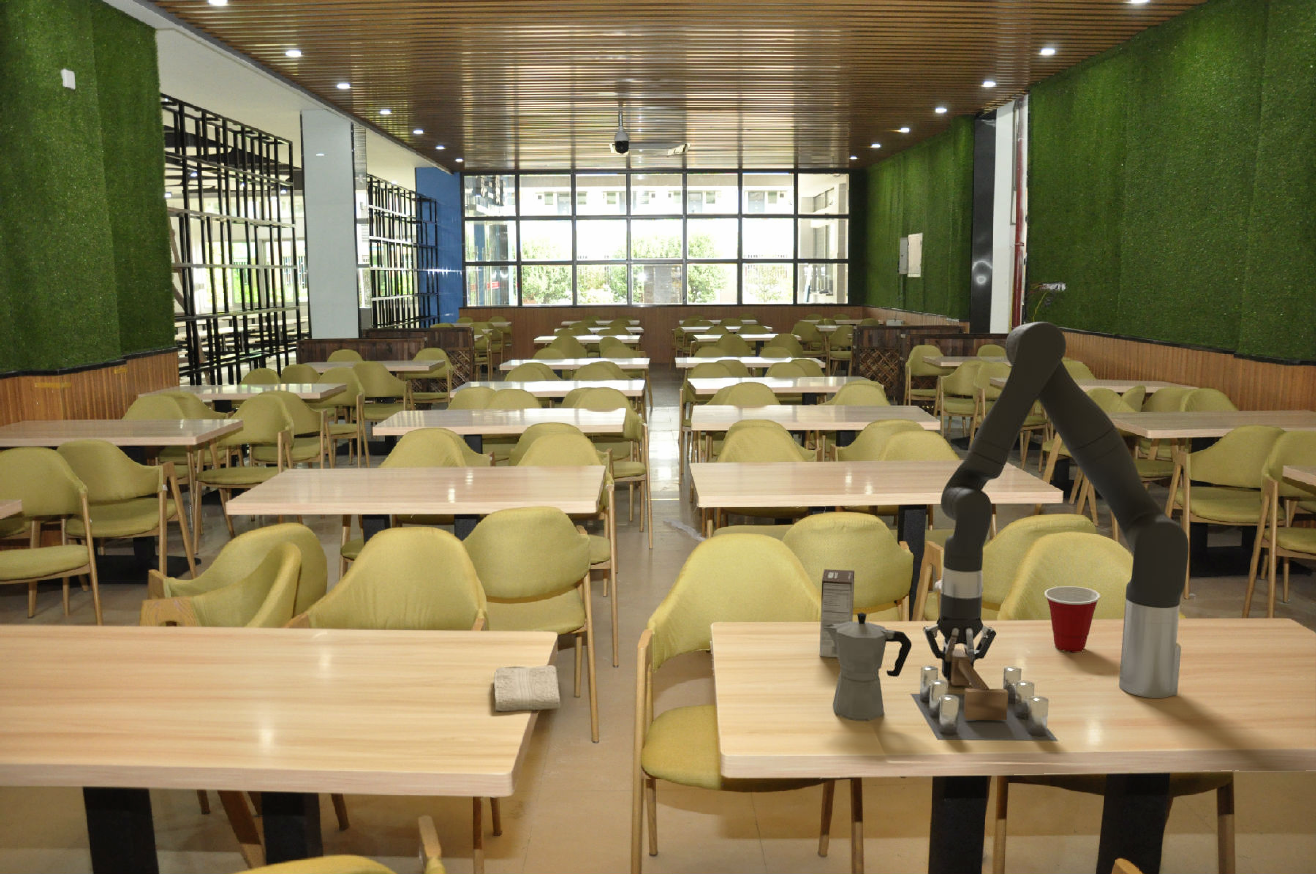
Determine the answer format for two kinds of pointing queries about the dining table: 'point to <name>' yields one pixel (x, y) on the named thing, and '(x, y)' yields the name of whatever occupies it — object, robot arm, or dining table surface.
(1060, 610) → the plastic cup
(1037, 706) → the steel spacers
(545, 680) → the washcloth
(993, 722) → the spacer mat
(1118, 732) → the dining table surface
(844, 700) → the coffeepot
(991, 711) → the wooden mallet
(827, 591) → the coffee box
